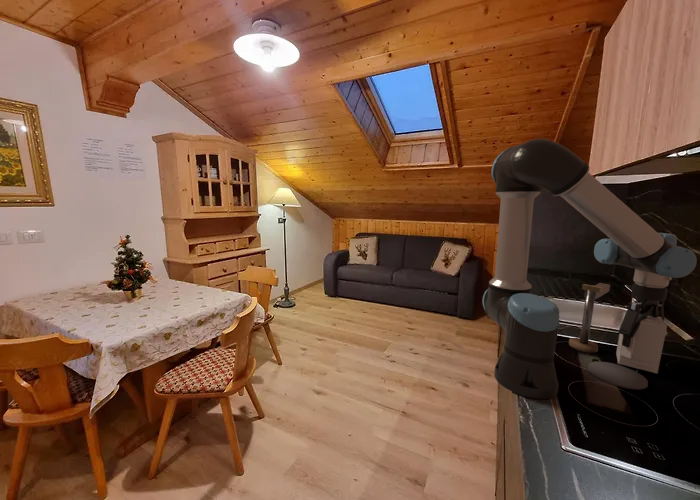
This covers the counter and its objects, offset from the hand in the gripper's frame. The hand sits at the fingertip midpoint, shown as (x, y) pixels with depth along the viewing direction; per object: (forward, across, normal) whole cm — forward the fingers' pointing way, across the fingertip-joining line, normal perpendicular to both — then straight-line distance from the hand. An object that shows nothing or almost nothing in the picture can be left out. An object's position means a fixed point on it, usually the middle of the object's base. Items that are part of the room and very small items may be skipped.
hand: (637, 353), depth 94 cm
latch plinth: (+4, -4, +13) cm, 14 cm away
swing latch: (+2, +3, +15) cm, 15 cm away
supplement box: (+4, 0, 0) cm, 4 cm away
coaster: (+4, -14, -2) cm, 14 cm away
